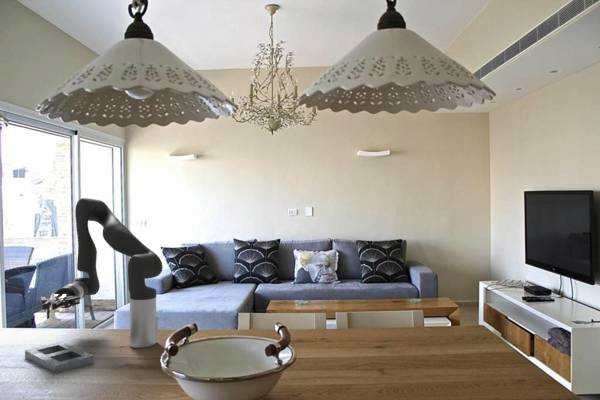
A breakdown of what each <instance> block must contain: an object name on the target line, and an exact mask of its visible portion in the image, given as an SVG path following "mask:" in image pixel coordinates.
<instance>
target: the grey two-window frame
mask: <svg viewBox="0 0 600 400" xmlns="http://www.w3.org/2000/svg"><path fill="white" fill-rule="evenodd" d="M24 358H25V359H26V360H27V361H29V362H32V363H33V364H35V365H37V366H39V367H41V368H43V369H44V370H46V371H48V372H50V373H52V374H53V375H58V374H61V373H64V372H68V371H72V370H76V369H79V368H82V367H85V366H89V365H93V364H94V361H95V357H94V355H93V354H91V353H89V352H87V351H84V350H82V349H80V348H77V347H75V346H73V345H71V344H69V343H67V342H64V341H60V342H56V343H51V344H47V345H43V346H39V347H34V348H30V349H26V350H24Z"/></svg>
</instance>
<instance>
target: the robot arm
mask: <svg viewBox="0 0 600 400" xmlns="http://www.w3.org/2000/svg"><path fill="white" fill-rule="evenodd" d="M74 213H75V215H74V216H75V225H76V227H75V228H76V237H77V249H78V250H77V262H76V269H77V271H79V272H81V273H82V272H84V273H86V274H87V275H88V277H76V278H73V279H72V281H71V283H69V284H67V285H65V286H63V287H61V288H59V289H57V290H56V292H54V294H55V296H54V298H56V301H55V302H54V303H53V304H52V310H55V311H56V310H57V309H58V308H59V309H60V308H61V309H69V308H70V307H72V306H73V307H74V306H76V305H80V304H81V300H82V299H84V298H85V297H86V296H94V295H96V294H98V292H99V290H100V280H99V276H98V271H97V258H98V257H97V256H98V252H97V251H98V250H97V247H96V244H95V242H94V240H93V237H92V235H91V233H90V230H89V222H96V223H98V224H100V226H102V237H103V240H104V241H105V242H106V243H107V244H108V246H109V247H110V248H112V249H113V250H114V251H116V252H118V253H120V254H122V255H124V256H127V257H130V258H129V260H128V263H127V284H128V285H127V286H128V291H129V326H128V327H129V333H128V334H129V335H128V339H129V340H128V345H129V347H131V348H137V349H138V348H139V349H140V348H149V347H152V346H154V345H155V344H156V343H157V342H158V343H159V317H158V316H157V289H156V288H154V287H150V286H147V285H146V280H147V279H153V278H156V277H159V276H160V275H161V273H162V271H163V264H162V263H163V262H162V260H161V258H160V256H159V255H158V254H156V253H155V252H154V251H153V250H152V249H150V248H149V247H147V245H145V244H144V243H143V242H141V241H140V239H138V238H137V237H136V236H135V234H133V233H132V232H131V230H130V229H128V227H126V226H125V224H123V222H122V221H120V220H119V219H118V218H117V217H116V215H115V214H114V213H113V212H112V210H111V209H110V208H109V206H108V205H107V204H106V203H105V201H102V200H101V199H96V198H95V199H93V198H88V197H82V198H80V199H79V200H77V203H76V205H75V212H74ZM50 298H52V297H51V296H49V297H48V298H47V297H45V296H40V306H41V308H42V309H43V310H44V311H47V310H49V309H51V307H49V306H50V305H51V303H50V300H49V299H50Z"/></svg>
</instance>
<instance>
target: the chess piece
mask: <svg viewBox="0 0 600 400" xmlns="http://www.w3.org/2000/svg"><path fill="white" fill-rule="evenodd" d="M54 296H55V292H52V293H51V295H50V297H52V298H50V297H49V298H50V299H49V300H50V303H51V305H50V306H49V307H50V311H49V313H50V314H49V317H48V319H45V320H44V321H43V322H44V323H43V324H44V325H45V326H46V325H47V326H49V325H50V326H51V325H52V326H53V325H58V324H59V323H62V321H61V319H60V318H57V316H56V313H55V311H56V309H55V310H52V304H53V303H54V302H55V301H56V298H54Z"/></svg>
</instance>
